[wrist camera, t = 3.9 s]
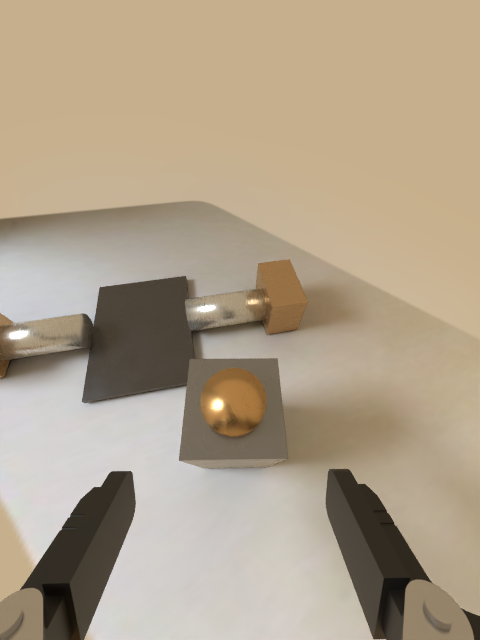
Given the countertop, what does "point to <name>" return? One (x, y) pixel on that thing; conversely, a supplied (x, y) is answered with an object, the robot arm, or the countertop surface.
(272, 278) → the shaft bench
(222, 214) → the countertop surface
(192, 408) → the gold-capped grey pillar
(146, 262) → the countertop surface
